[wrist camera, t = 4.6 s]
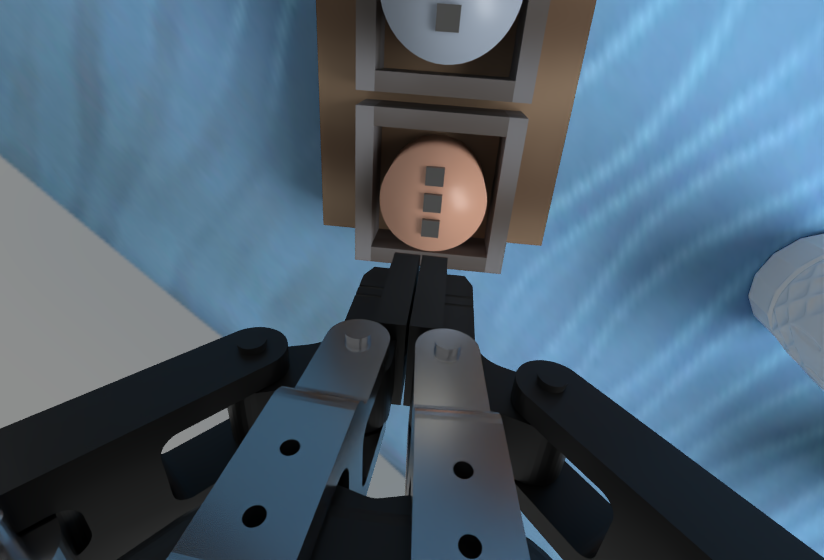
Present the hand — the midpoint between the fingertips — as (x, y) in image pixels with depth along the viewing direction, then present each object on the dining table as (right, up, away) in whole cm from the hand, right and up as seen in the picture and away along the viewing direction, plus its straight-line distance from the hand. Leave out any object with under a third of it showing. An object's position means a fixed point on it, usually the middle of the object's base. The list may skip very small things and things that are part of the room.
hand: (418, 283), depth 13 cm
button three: (+1, +5, +10) cm, 11 cm away
